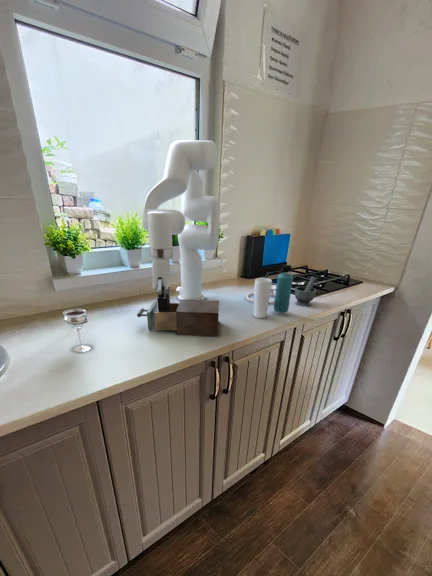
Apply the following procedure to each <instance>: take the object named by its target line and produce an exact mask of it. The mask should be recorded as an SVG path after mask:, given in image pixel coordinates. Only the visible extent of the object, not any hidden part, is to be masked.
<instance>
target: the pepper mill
mask: <svg viewBox="0 0 432 576" xmlns="http://www.w3.org/2000/svg"><path fill="white" fill-rule="evenodd" d="M162 289H164V287H162ZM162 292H163V293H164V291H162ZM155 293H156V294H157V288H156V289H155ZM166 298H167V309H166V310H162V309H158V312H170V303H171V287H170V286H169V287H168V289H167V290H166Z"/></svg>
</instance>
